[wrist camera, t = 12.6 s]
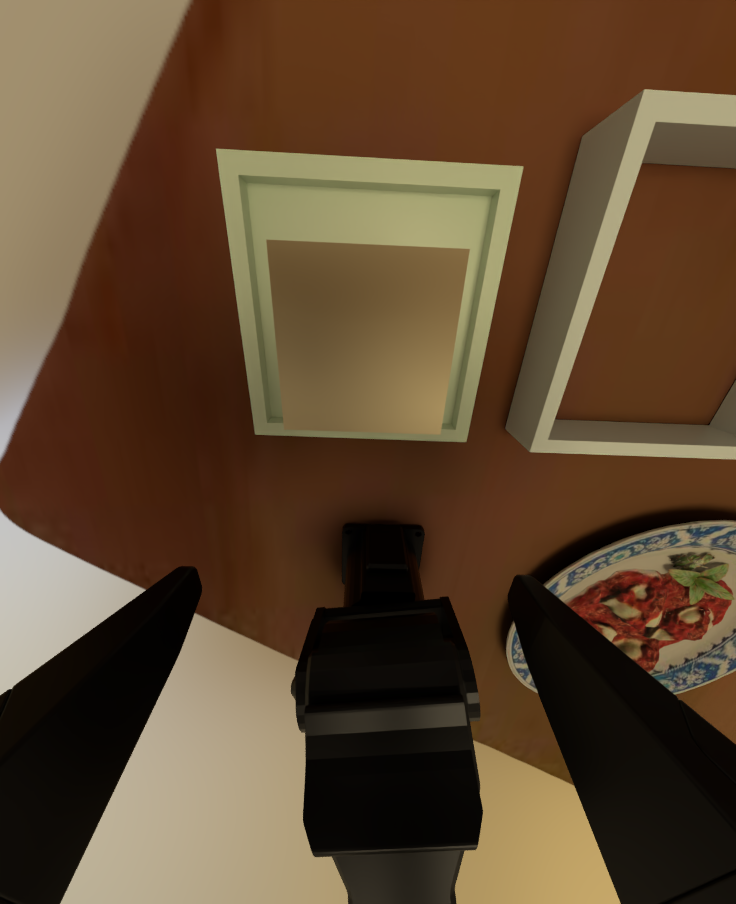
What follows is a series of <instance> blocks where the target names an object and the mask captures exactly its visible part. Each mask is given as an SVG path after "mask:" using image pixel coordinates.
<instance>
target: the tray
mask: <svg viewBox="0 0 736 904" xmlns="http://www.w3.org/2000/svg"><path fill="white" fill-rule="evenodd" d="M216 153H217V160H218V168H219V175H220V182H221V189H222V197H223V204H224V211H225V219H226V226H227V233H228V240H229V248H230V255H231V262H232V270H233V277H234V284H235V291H236V299H237V306H238V313H239V321H240V328H241V335H242V343H243V350H244V357H245V364H246V372H247V379H248V386H249V394H250V401H251V408H252V415H253V423H254V430H255V435H280V436H307V437H335V438H363V439H391V440H419V441H446V442H466V441H467V436H468V432H469V427H470V422H471V417H472V412H473V408H474V403H475V398H476V393H477V388H478V383H479V379H480V374H481V369H482V364H483V359H484V354H485V350H486V345H487V340H488V335H489V330H490V326H491V321H492V316H493V311H494V306H495V301H496V297H497V292H498V287H499V282H500V277H501V272H502V268H503V263H504V258H505V253H506V248H507V244H508V239H509V234H510V229H511V224H512V219H513V215H514V210H515V205H516V200H517V195H518V190H519V186H520V181H521V176H522V171H523V167H522V166H505V165H488V164H471V163H453V162H436V161H419V160H402V159H384V158H367V157H350V156H333V155H315V154H298V153H281V152H263V151H246V150H229V149H216ZM266 240H288V241H309V242H331V243H352V244H374V245H396V246H417V247H439V248H461V249H470V252H469V258H468V265H467V271H466V277H465V283H464V290H463V296H462V302H461V309H460V315H459V321H458V328H457V334H456V340H455V346H454V353H453V359H452V365H451V372H450V378H449V384H448V391H447V397H446V403H445V410H444V416H443V422H442V428H441V435H434V434H403V433H373V432H342V431H312V430H284V424H283V413H282V403H281V392H280V381H279V371H278V360H277V350H276V339H275V328H274V318H273V307H272V296H271V286H270V275H269V264H268V254H267V243H266Z"/></svg>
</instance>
